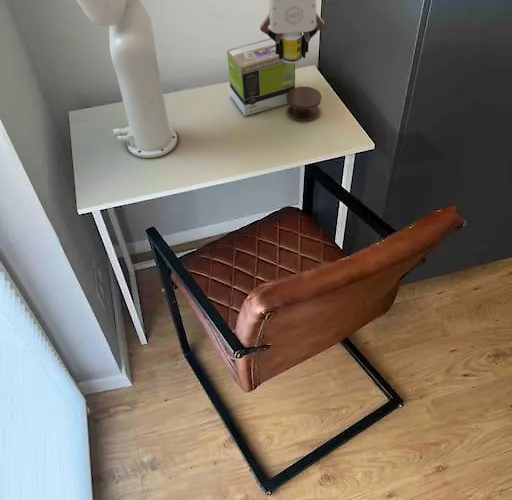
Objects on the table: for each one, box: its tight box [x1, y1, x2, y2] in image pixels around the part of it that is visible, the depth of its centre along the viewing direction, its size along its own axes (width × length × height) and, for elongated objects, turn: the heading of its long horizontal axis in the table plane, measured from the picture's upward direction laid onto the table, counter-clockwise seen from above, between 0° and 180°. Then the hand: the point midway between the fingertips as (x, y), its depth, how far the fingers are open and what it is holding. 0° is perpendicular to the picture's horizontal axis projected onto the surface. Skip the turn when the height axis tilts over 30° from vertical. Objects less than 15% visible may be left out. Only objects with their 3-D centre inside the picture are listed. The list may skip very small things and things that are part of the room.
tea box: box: [226, 37, 296, 117], centre depth 151 cm, size 15×10×15 cm
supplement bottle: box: [281, 32, 303, 64], centre depth 132 cm, size 5×5×8 cm
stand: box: [286, 85, 322, 123], centre depth 151 cm, size 9×9×5 cm
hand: (291, 55), depth 135 cm, fingers closed on supplement bottle, 4 cm apart
